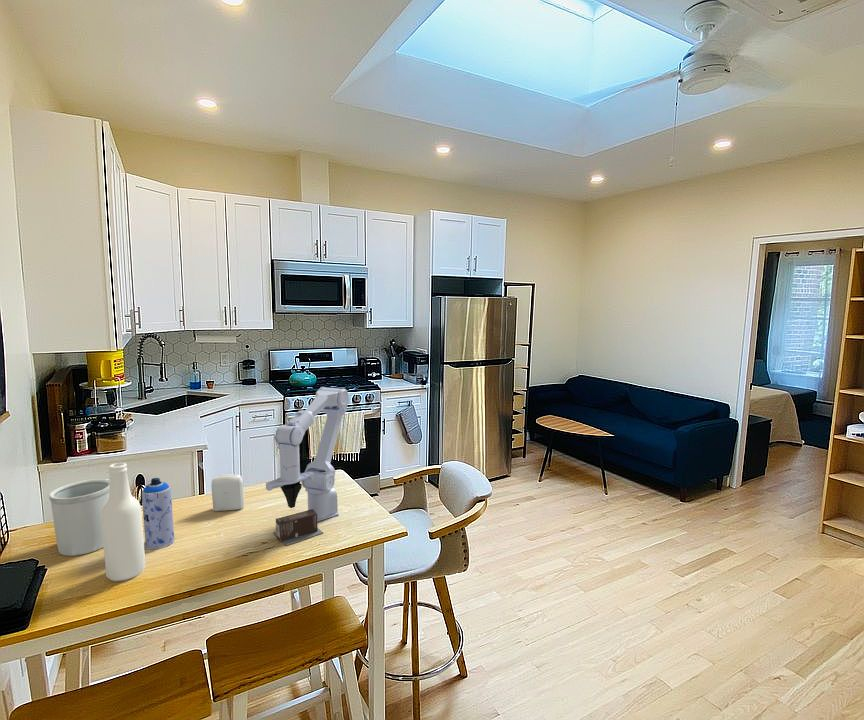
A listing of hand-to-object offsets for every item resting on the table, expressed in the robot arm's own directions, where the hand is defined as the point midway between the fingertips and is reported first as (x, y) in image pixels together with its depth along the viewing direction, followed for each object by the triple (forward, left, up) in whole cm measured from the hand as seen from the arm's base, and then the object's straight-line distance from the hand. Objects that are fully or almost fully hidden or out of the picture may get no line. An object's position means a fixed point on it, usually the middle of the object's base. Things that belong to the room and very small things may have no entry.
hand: (291, 506), depth 144 cm
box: (+5, 0, -6) cm, 8 cm away
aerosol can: (+33, -21, -10) cm, 40 cm away
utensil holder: (+50, -34, -10) cm, 61 cm away
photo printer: (+10, -32, -10) cm, 35 cm away
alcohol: (+43, -9, -10) cm, 44 cm away
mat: (-2, 0, -9) cm, 10 cm away
